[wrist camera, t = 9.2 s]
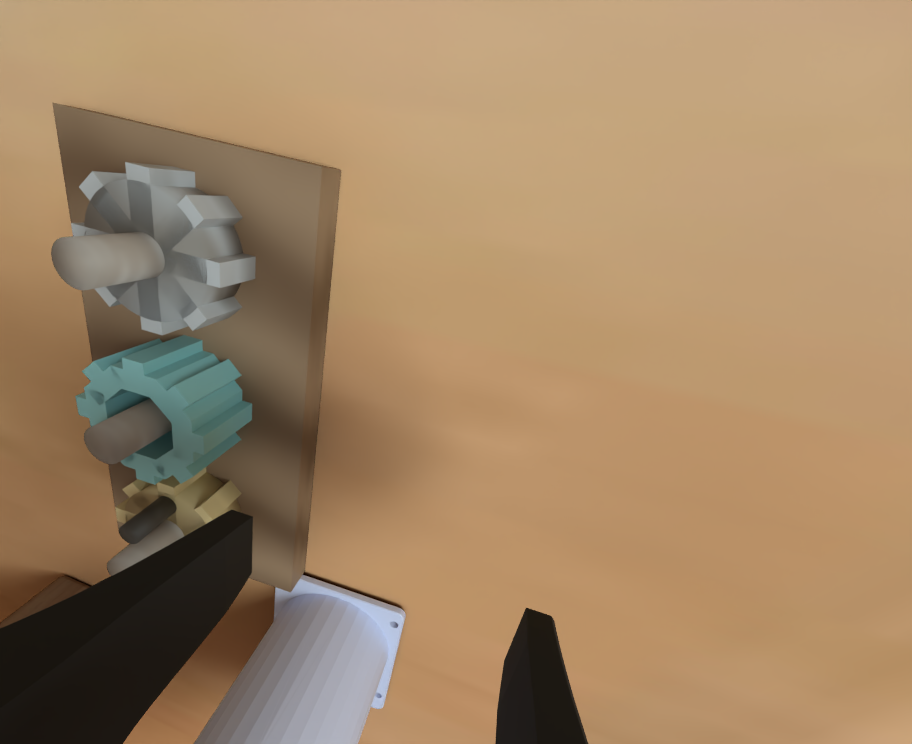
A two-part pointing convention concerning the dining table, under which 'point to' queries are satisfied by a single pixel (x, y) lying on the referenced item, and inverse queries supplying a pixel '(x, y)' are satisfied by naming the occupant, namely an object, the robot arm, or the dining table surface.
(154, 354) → the teal gear
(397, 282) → the dining table surface
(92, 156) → the gear board
